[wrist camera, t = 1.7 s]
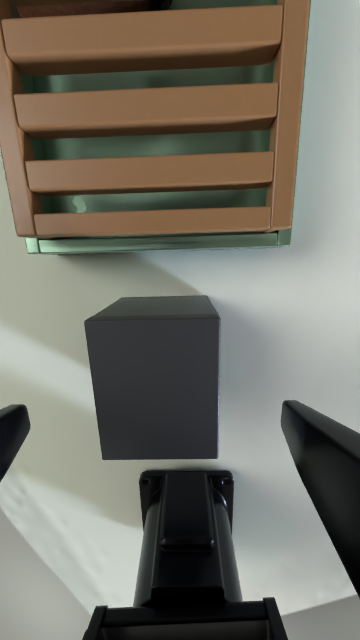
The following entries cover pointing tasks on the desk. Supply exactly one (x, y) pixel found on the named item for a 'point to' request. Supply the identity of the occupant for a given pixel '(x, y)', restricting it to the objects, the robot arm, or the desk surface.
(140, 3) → the sunglasses case
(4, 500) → the desk surface
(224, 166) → the wooden peg rack
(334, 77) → the desk surface
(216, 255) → the desk surface
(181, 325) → the black box
